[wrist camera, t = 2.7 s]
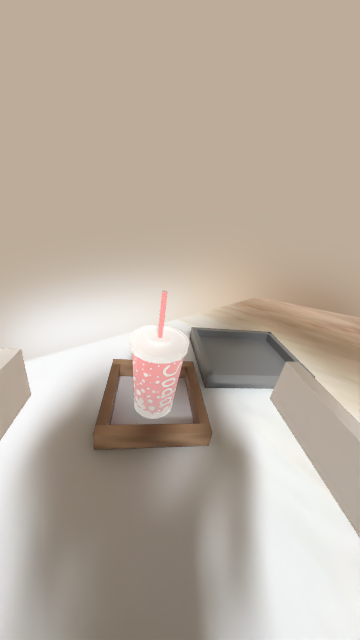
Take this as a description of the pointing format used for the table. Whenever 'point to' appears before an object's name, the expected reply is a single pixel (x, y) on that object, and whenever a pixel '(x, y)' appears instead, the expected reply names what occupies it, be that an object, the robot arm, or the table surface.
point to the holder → (151, 433)
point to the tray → (239, 358)
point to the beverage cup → (156, 365)
